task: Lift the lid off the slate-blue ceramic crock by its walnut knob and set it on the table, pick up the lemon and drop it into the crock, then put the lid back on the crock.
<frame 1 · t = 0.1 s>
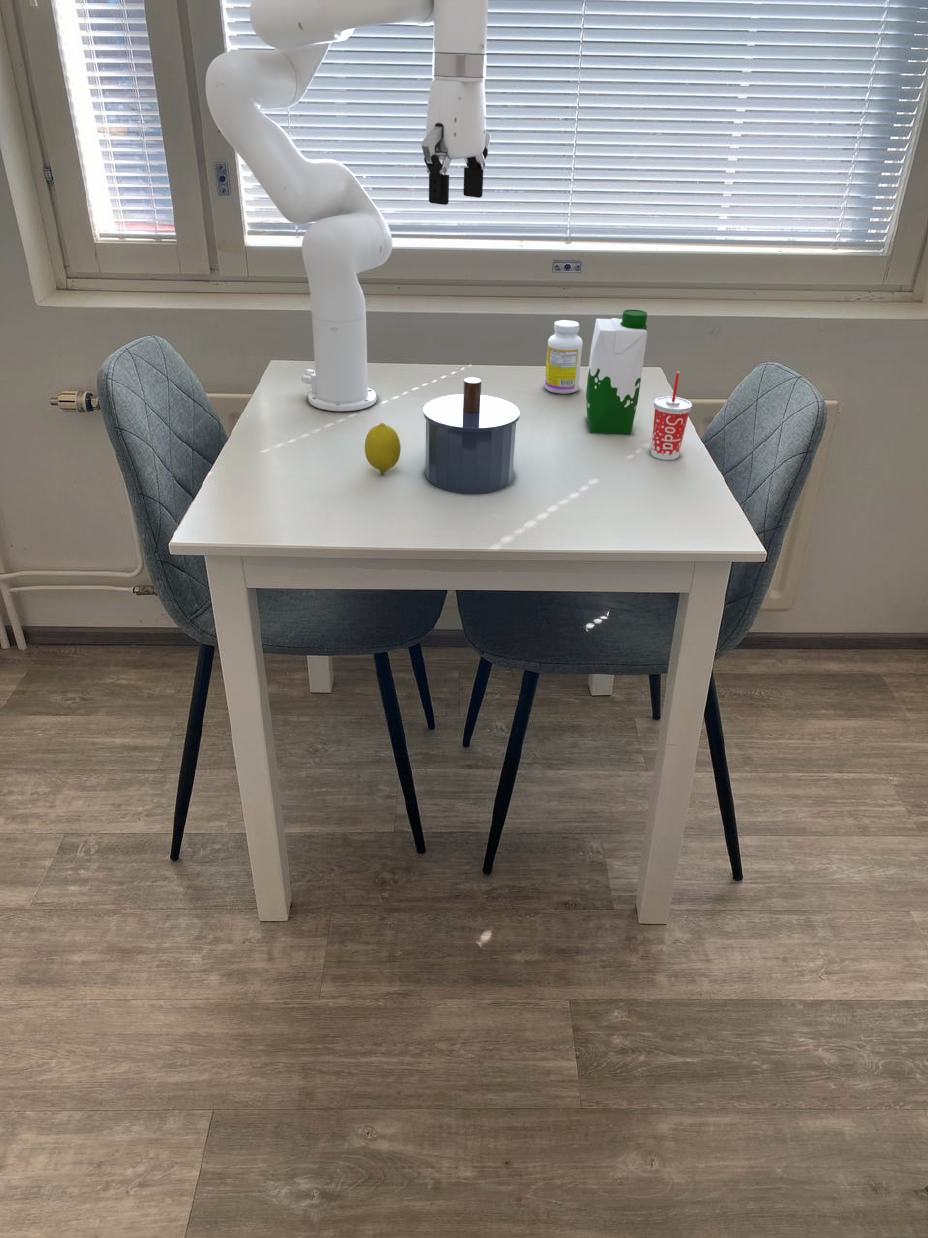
hand: (456, 199, 137), 37 cm above the table, tool pointing down, fingers open, 9 cm apart
lemon: (383, 473, 141), on the table
milk carton: (608, 427, 161), on the table
crock: (468, 475, 141), on the table
beverage cup: (664, 455, 150), on the table
crock lid: (471, 414, 135), point 10 cm above the table, touching crock
supplement bottle: (560, 390, 177), on the table
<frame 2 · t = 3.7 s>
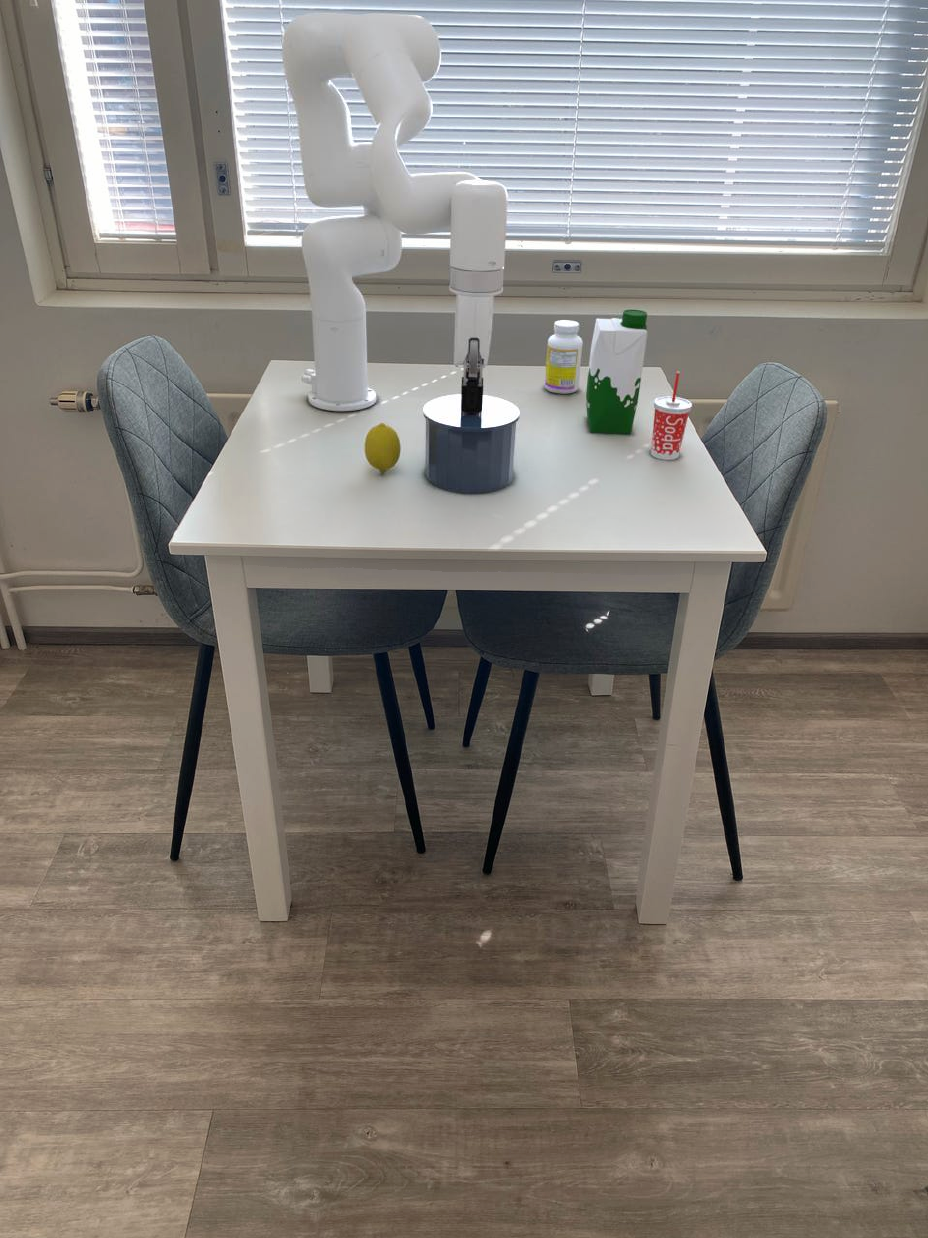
hand: (471, 406, 134), 11 cm above the table, tool pointing down, fingers closed on crock lid, 2 cm apart
crock lid: (471, 414, 135), point 10 cm above the table, touching crock, gripper
everything else where it was.
when the fingers open (2 cm above the table, at t = 9.9 s): crock lid stays where it is, point 1 cm above the table.
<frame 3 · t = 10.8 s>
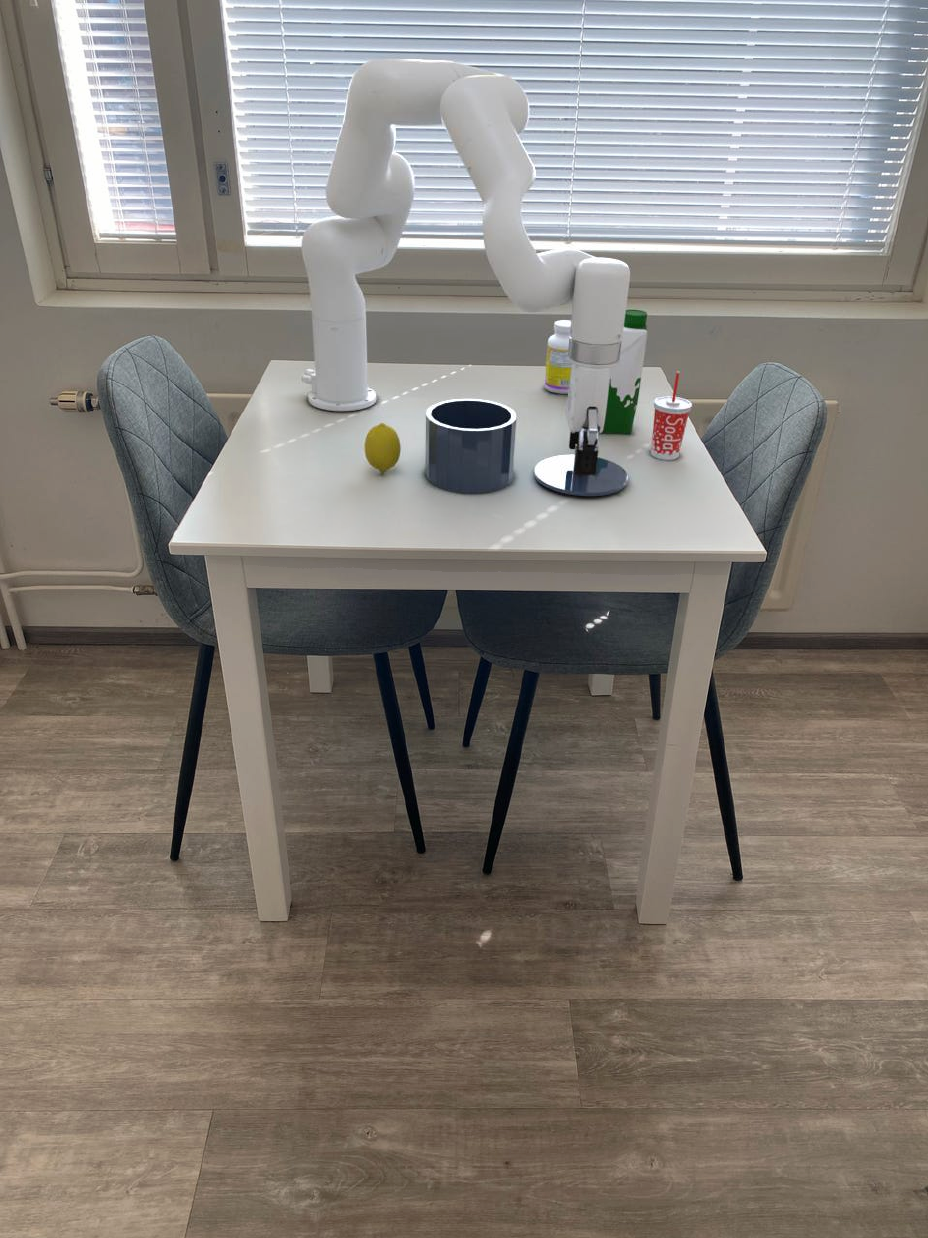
hand: (581, 460, 139), 3 cm above the table, tool pointing down, fingers open, 9 cm apart
crock lid: (580, 476, 140), point 1 cm above the table
everything else where it was.
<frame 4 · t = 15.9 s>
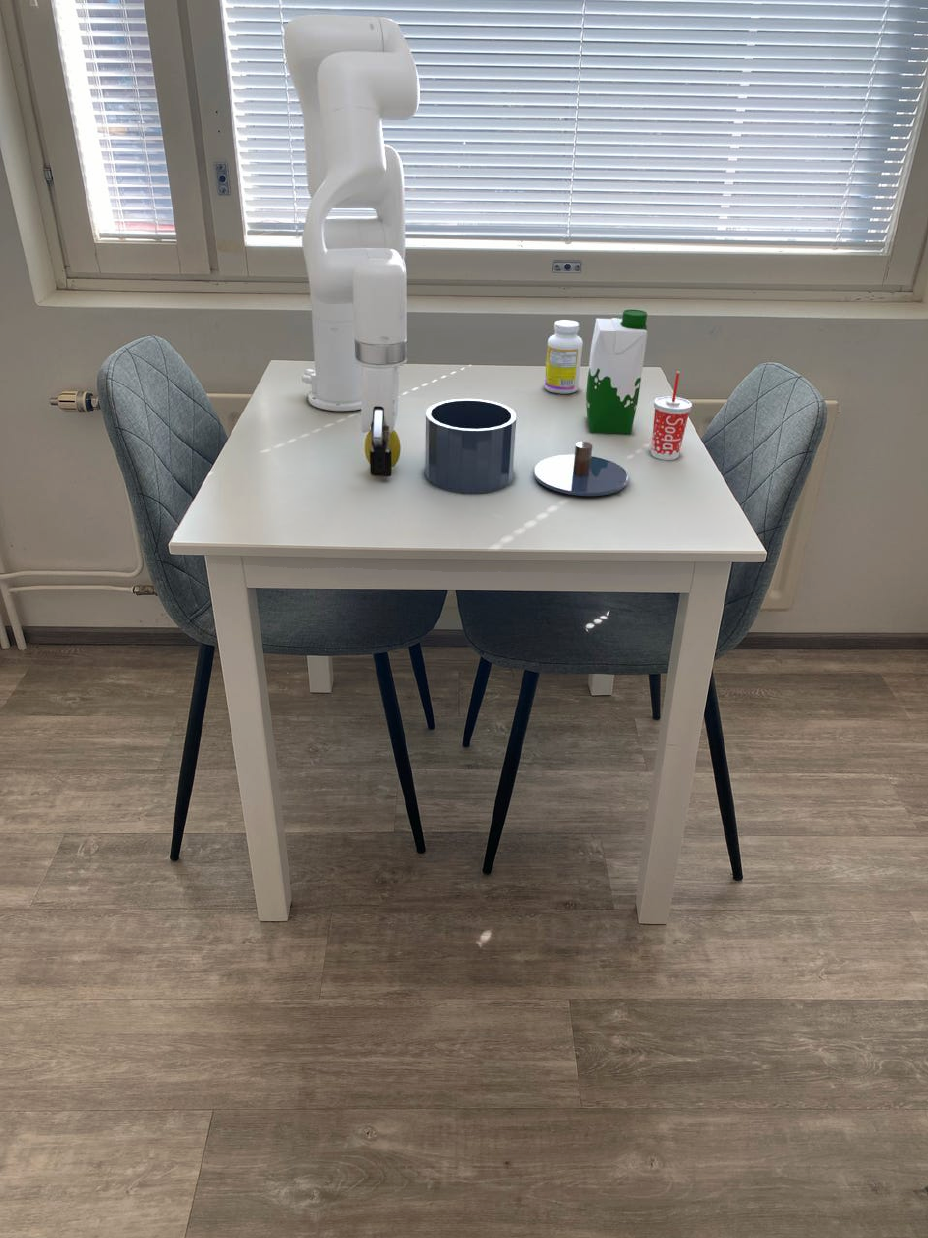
hand: (383, 465, 140), 1 cm above the table, tool pointing down, fingers closed on lemon, 5 cm apart
lemon: (383, 473, 141), on the table, touching gripper
everything else where it was.
when the fingers open (8 cm above the table, at t = 21.5 s): lemon drops 6 cm, resting on crock.
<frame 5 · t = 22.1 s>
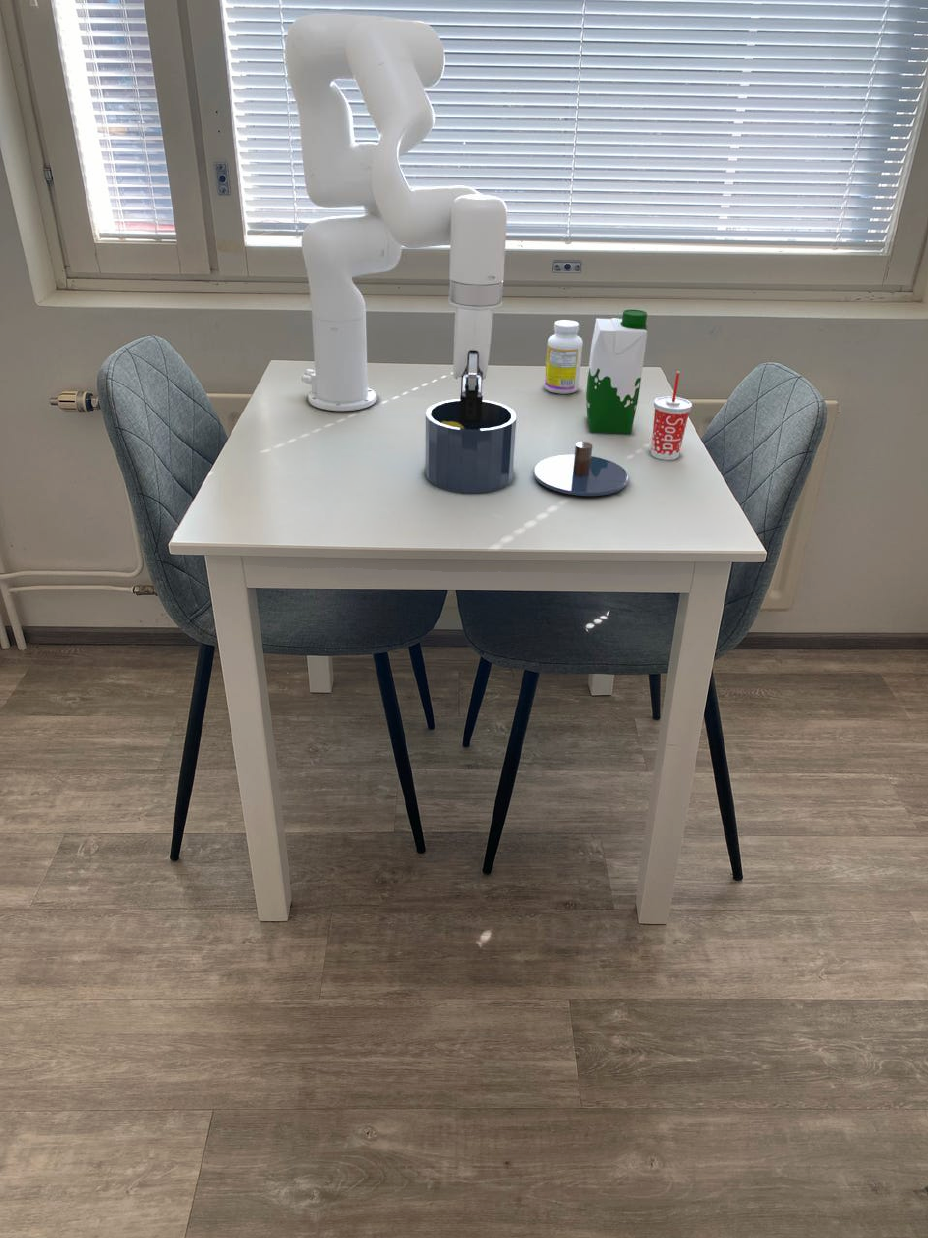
hand: (470, 410, 135), 11 cm above the table, tool pointing down, fingers open, 9 cm apart
lemon: (467, 467, 140), point 1 cm above the table, touching crock
everything else where it was.
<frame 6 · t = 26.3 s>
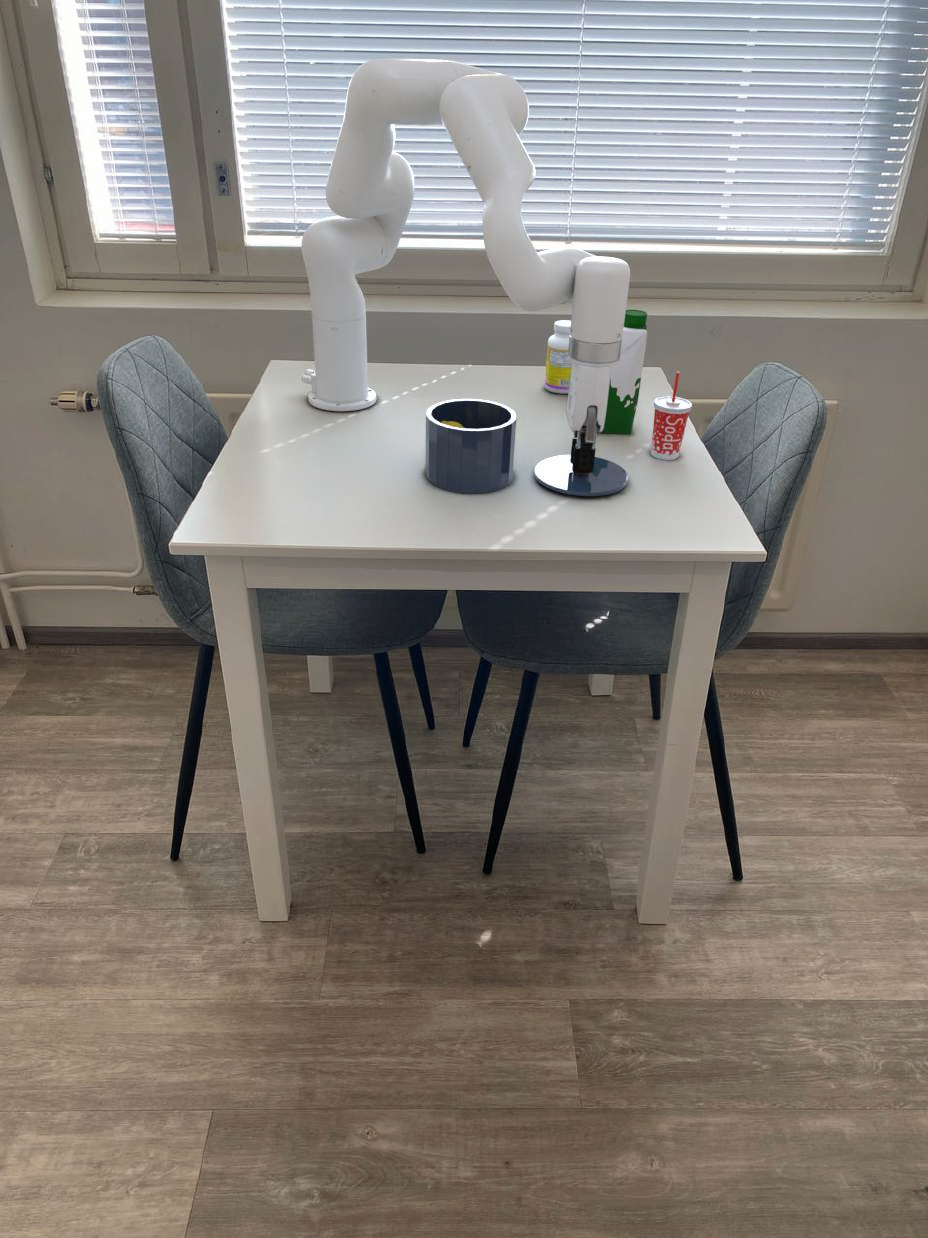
hand: (581, 466, 139), 2 cm above the table, tool pointing down, fingers closed on crock lid, 2 cm apart
crock lid: (580, 476, 140), point 1 cm above the table, touching gripper
everything else where it was.
when the fingers open (12 cm above the table, at t = 33.4 s): crock lid stays where it is, resting on crock.
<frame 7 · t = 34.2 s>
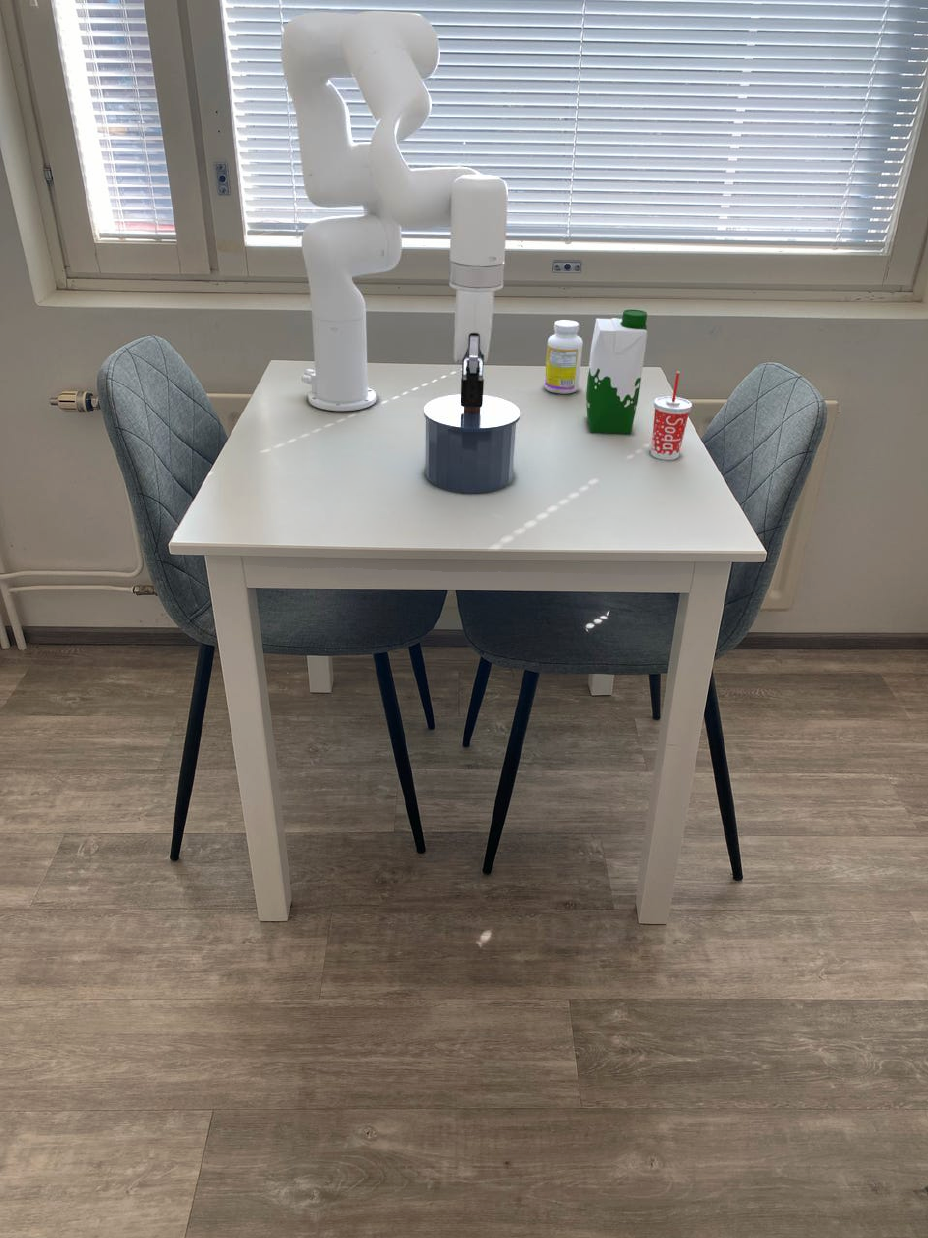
hand: (471, 394, 134), 13 cm above the table, tool pointing down, fingers open, 9 cm apart
crock lid: (471, 414, 135), point 10 cm above the table, touching crock
everything else where it was.
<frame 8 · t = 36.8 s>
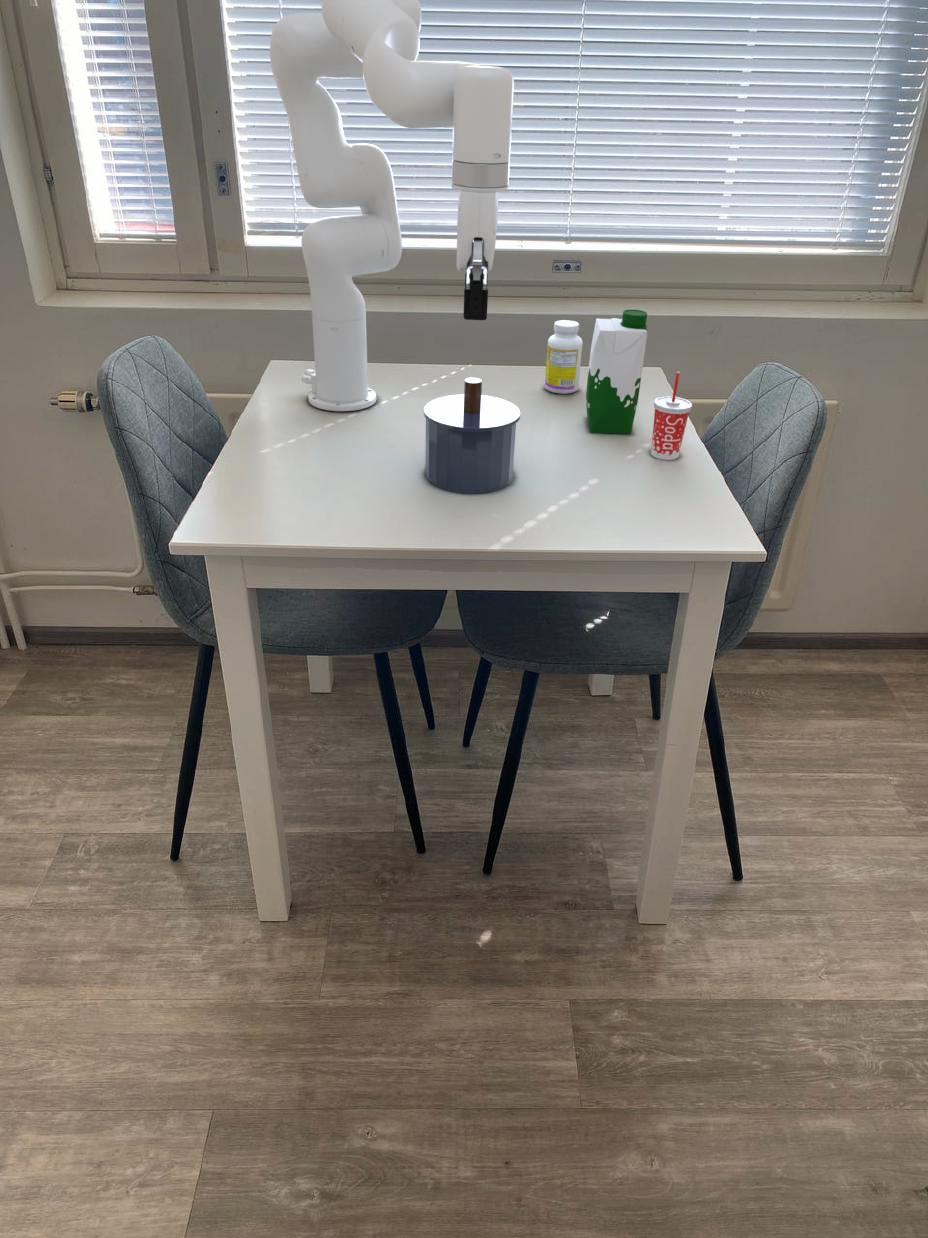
hand: (475, 310, 127), 25 cm above the table, tool pointing down, fingers open, 9 cm apart
nothing on the table moved.
at the end: lemon inside the target area in the crock (0.3 cm from its centre), point 1.2 cm above the crock's base; crock lid 0.1 cm off-centre on the crock, point 10.0 cm above the crock's base; crock lid tilted 0° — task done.
